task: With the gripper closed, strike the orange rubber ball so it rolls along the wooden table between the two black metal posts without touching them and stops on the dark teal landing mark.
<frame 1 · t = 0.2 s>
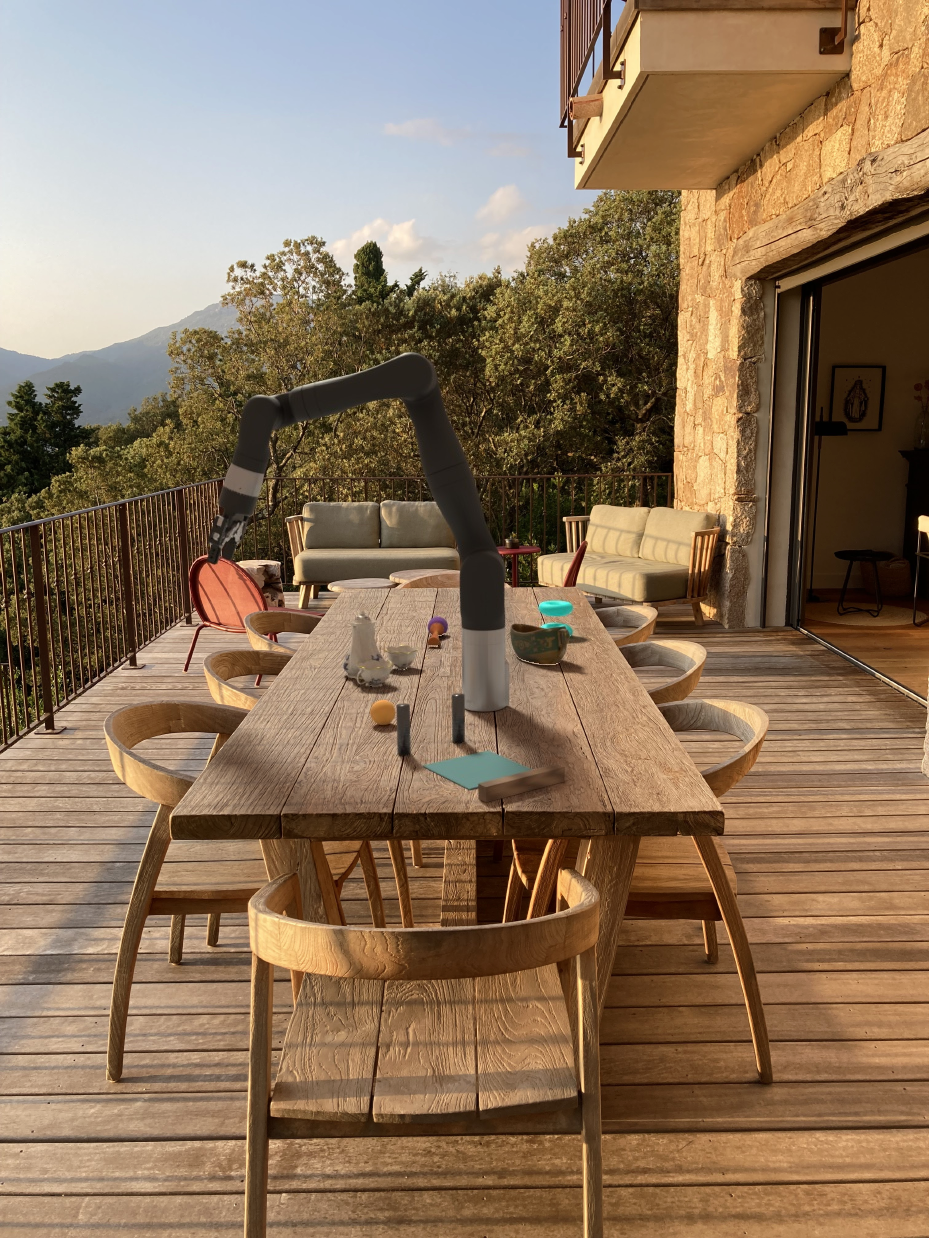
hand: (219, 561, 199), 31 cm above the table, tool tilted 20°, fingers open, 8 cm apart
post 2: (458, 741, 176), on the table
chinaware: (375, 677, 228), on the table
cup: (539, 661, 243), on the table
ball: (382, 712, 187), on the table
donuts: (555, 637, 274), on the table
stopper: (522, 789, 151), on the table
kendama: (436, 642, 269), on the table
post 1: (404, 753, 170), on the table
landing mark: (479, 769, 161), on the table
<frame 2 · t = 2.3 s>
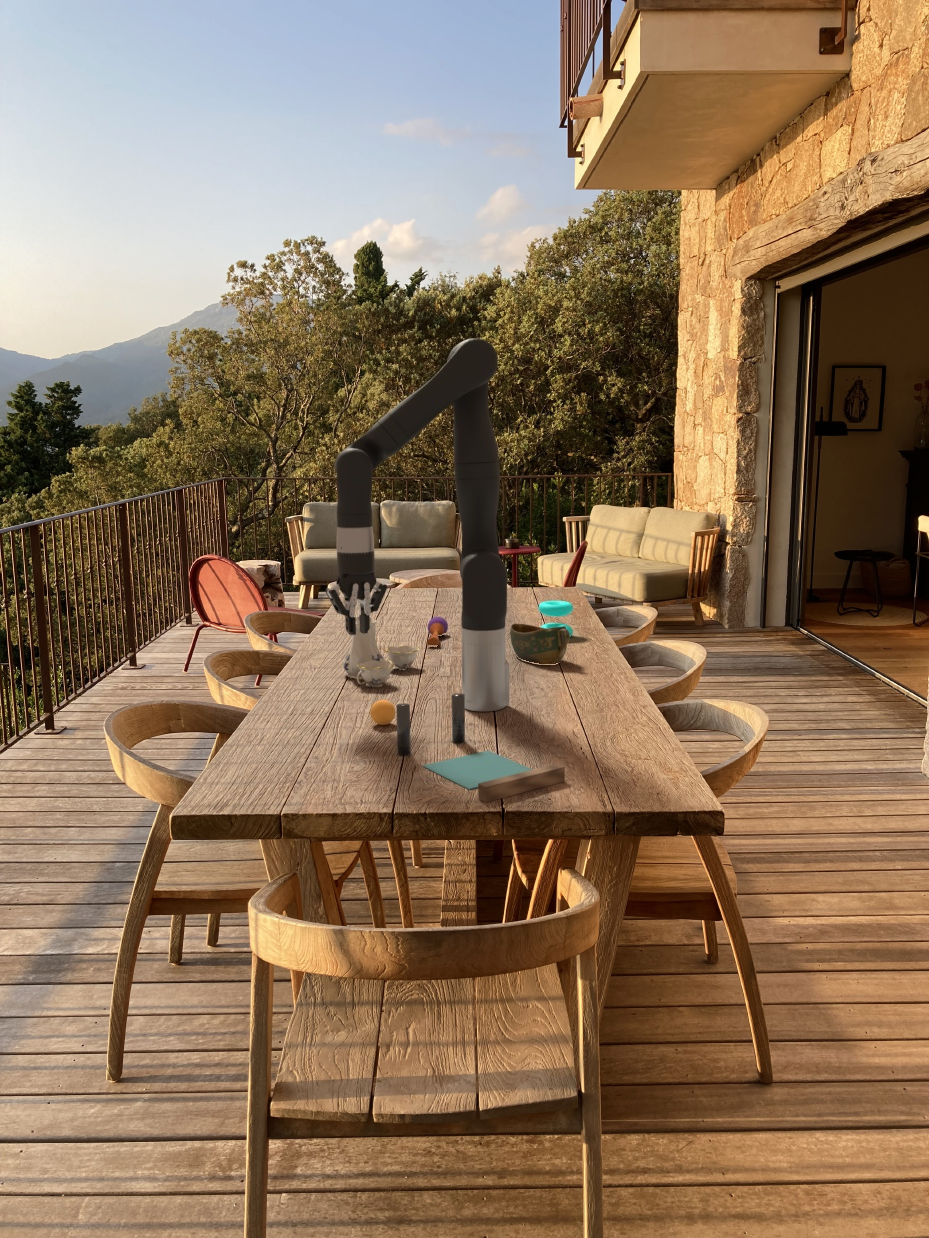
hand: (358, 633, 192), 17 cm above the table, tool pointing down, fingers closed
nothing on the table moved.
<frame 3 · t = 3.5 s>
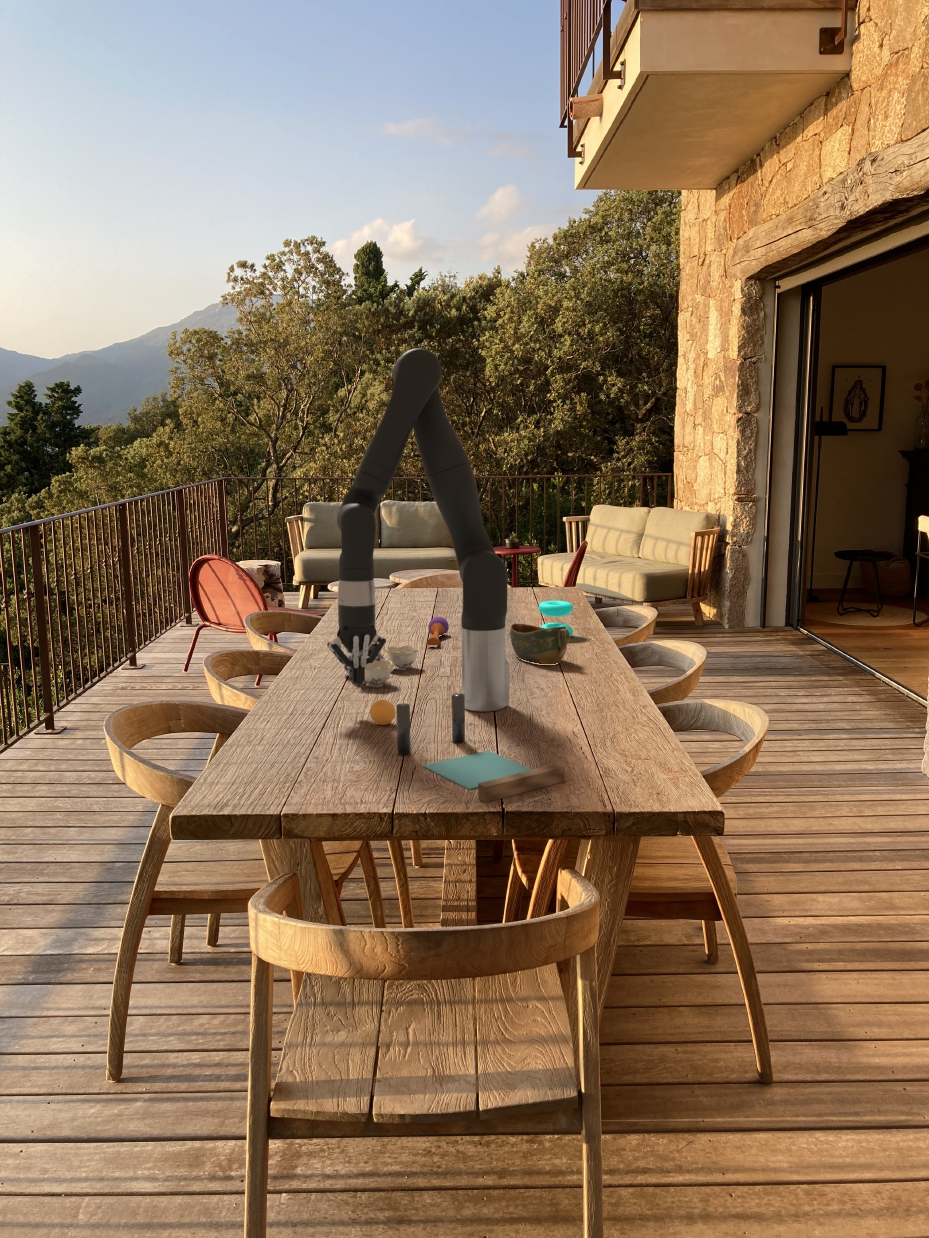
hand: (357, 684, 194), 6 cm above the table, tool pointing down, fingers closed
nothing on the table moved.
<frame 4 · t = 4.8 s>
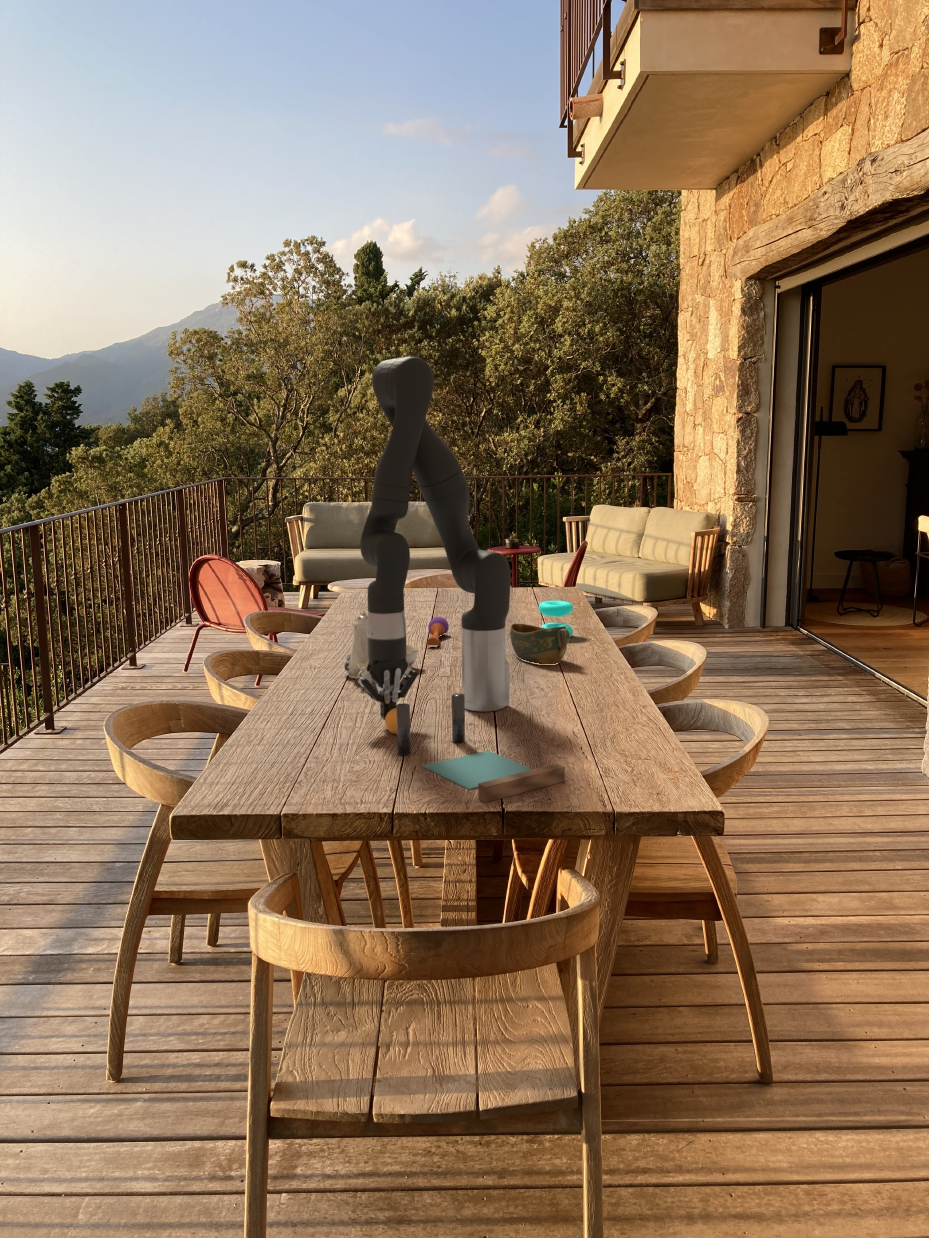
hand: (388, 720, 185), 2 cm above the table, tool pointing down, fingers closed
ball: (398, 721, 181), on the table
everything else where it was.
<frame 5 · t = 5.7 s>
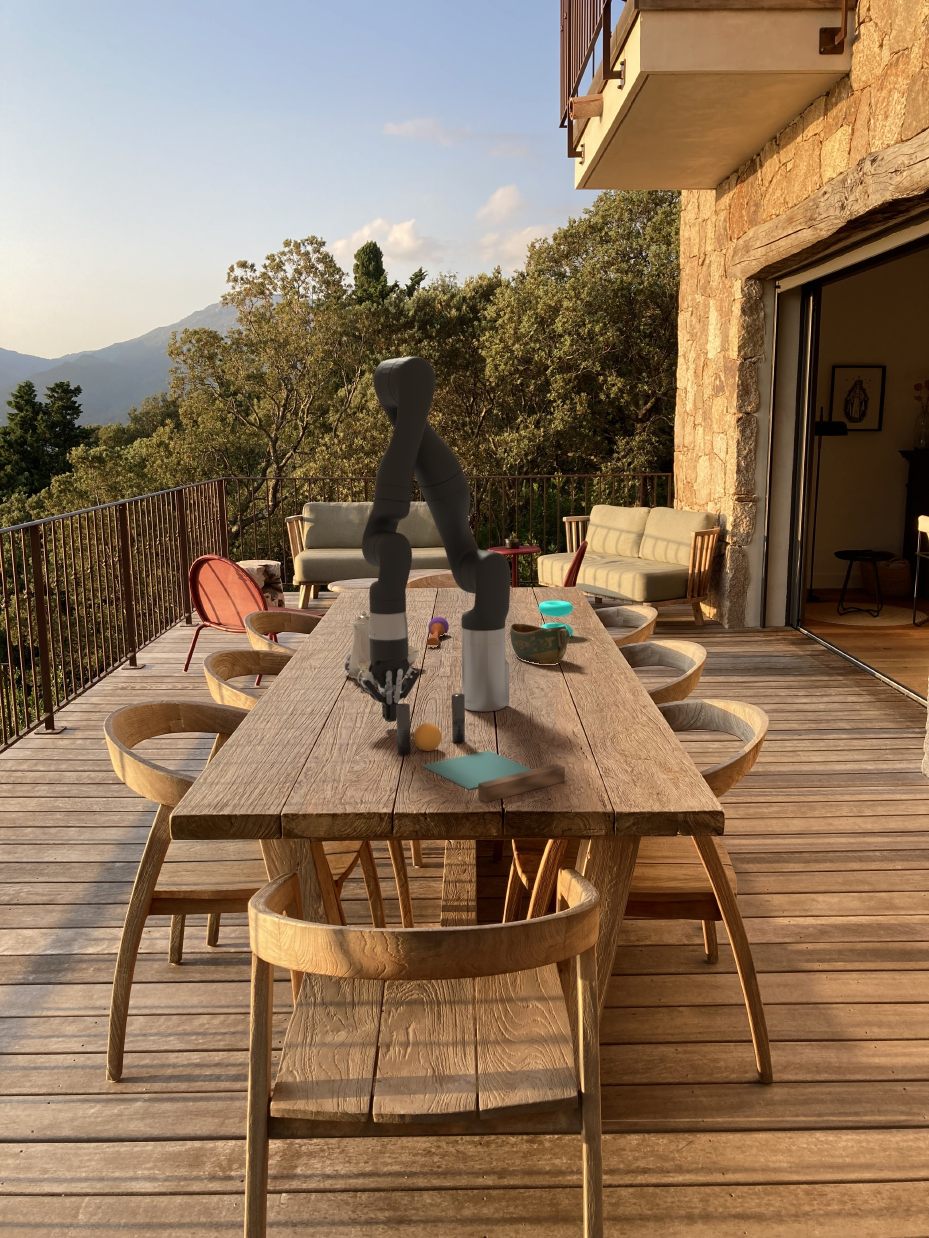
hand: (390, 720, 185), 2 cm above the table, tool pointing down, fingers closed
ball: (427, 737, 171), on the table
everything else where it was.
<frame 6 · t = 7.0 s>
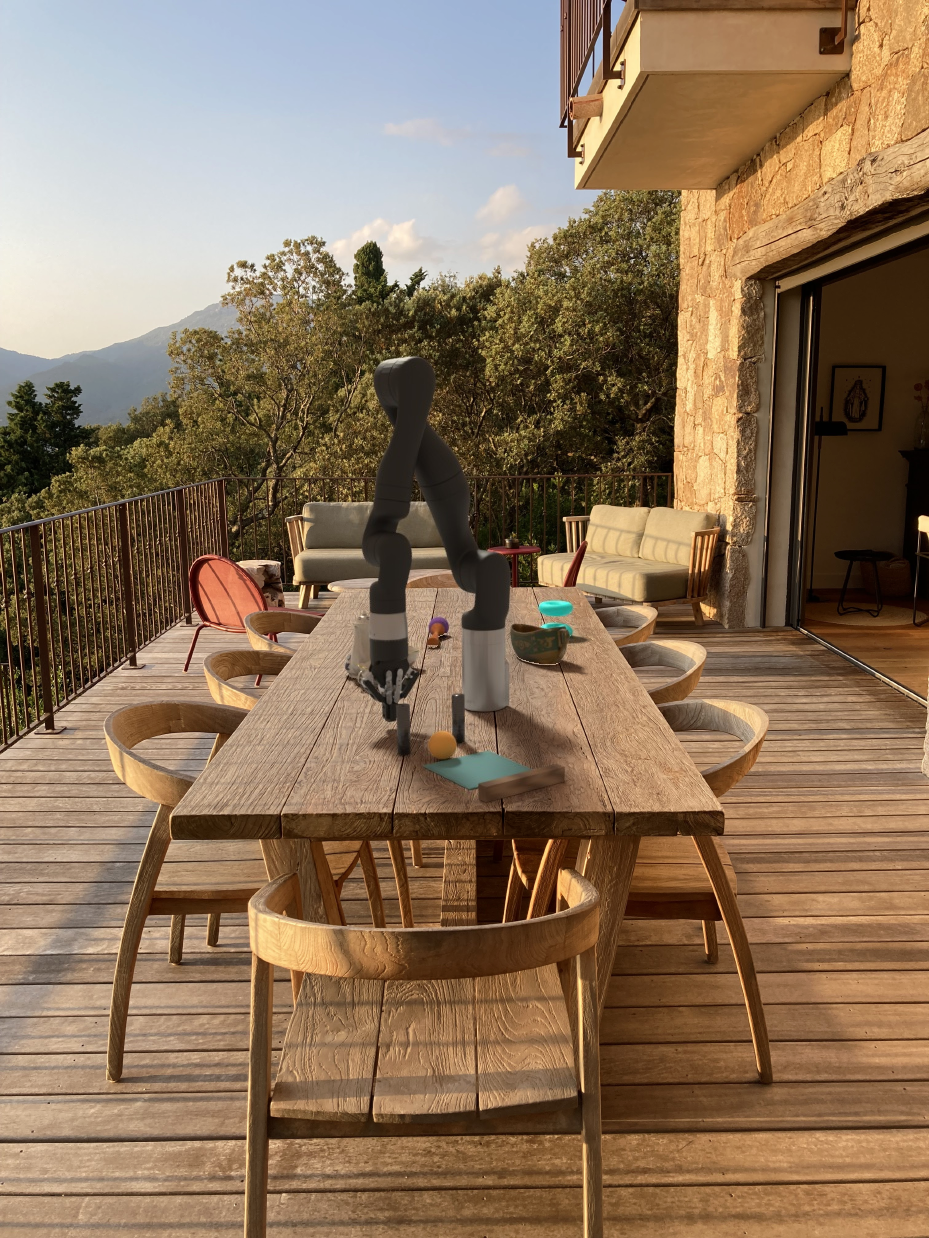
hand: (390, 720, 185), 2 cm above the table, tool pointing down, fingers closed
ball: (442, 745, 166), on the table
everything else where it was.
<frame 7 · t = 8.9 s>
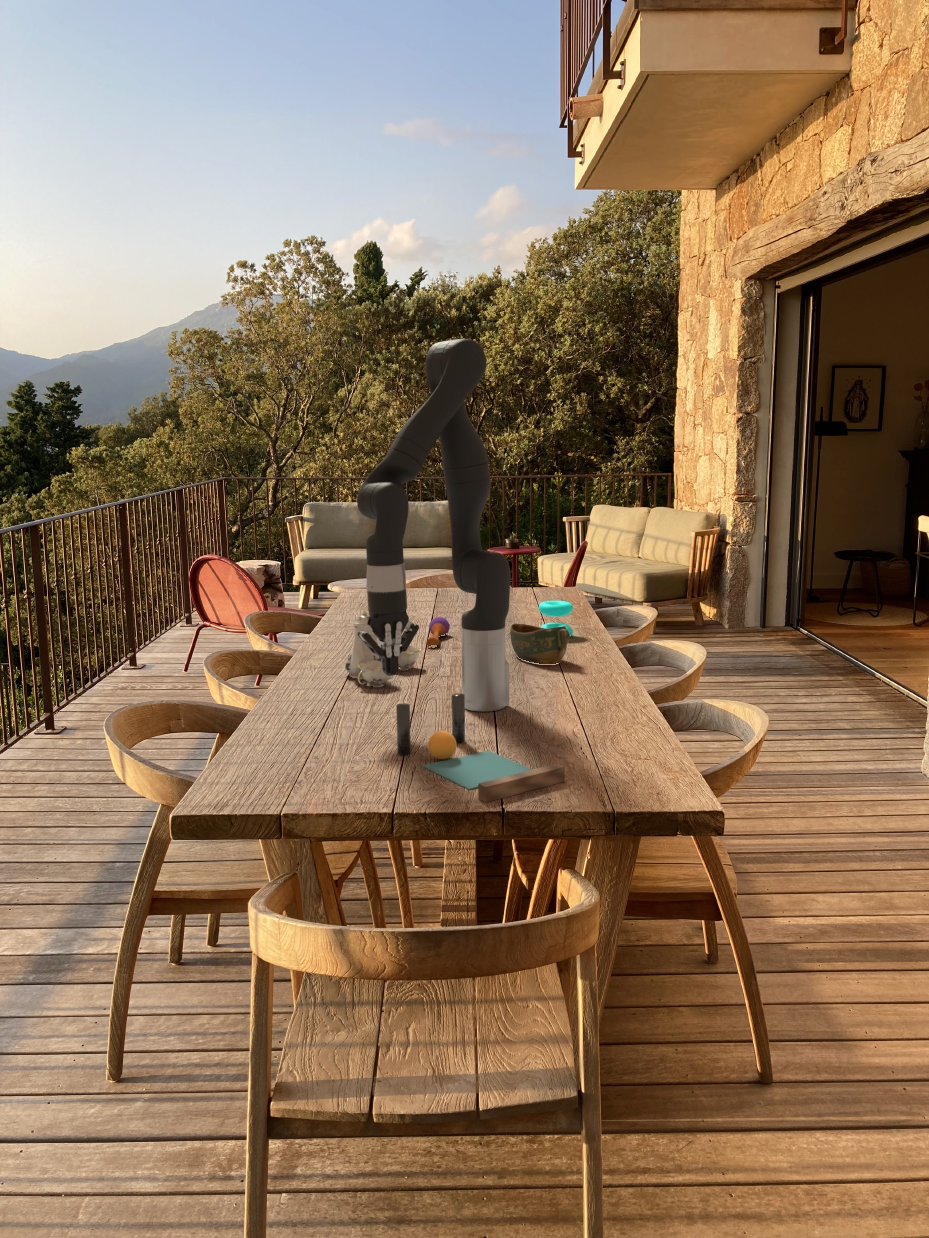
hand: (391, 674, 183), 11 cm above the table, tool pointing down, fingers closed
nothing on the table moved.
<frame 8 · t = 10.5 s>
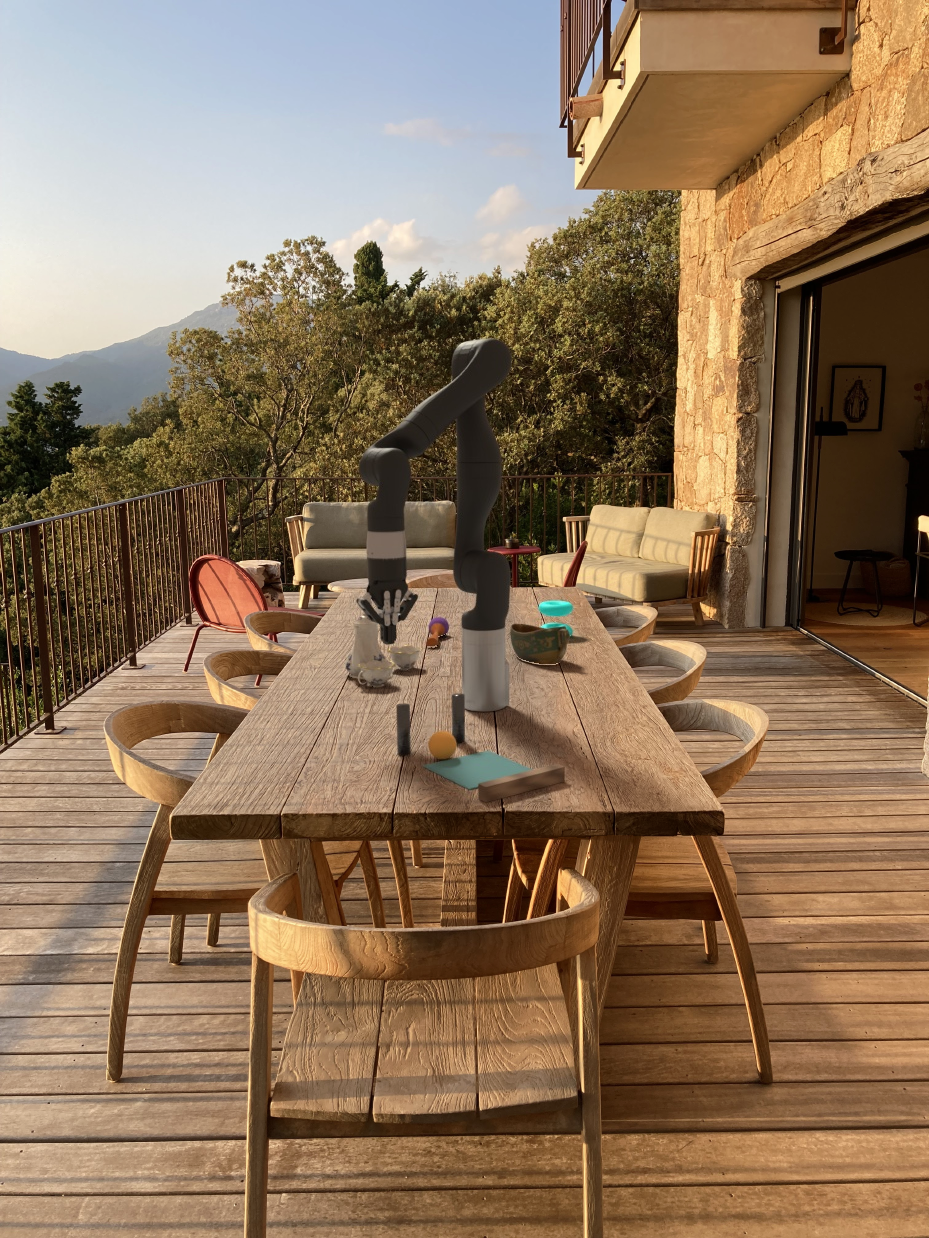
hand: (388, 643, 182), 17 cm above the table, tool pointing down, fingers closed
nothing on the table moved.
at the end: ball 8.7 cm from the landing mark (horizontally); ball never touched post 2; ball never touched post 1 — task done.
